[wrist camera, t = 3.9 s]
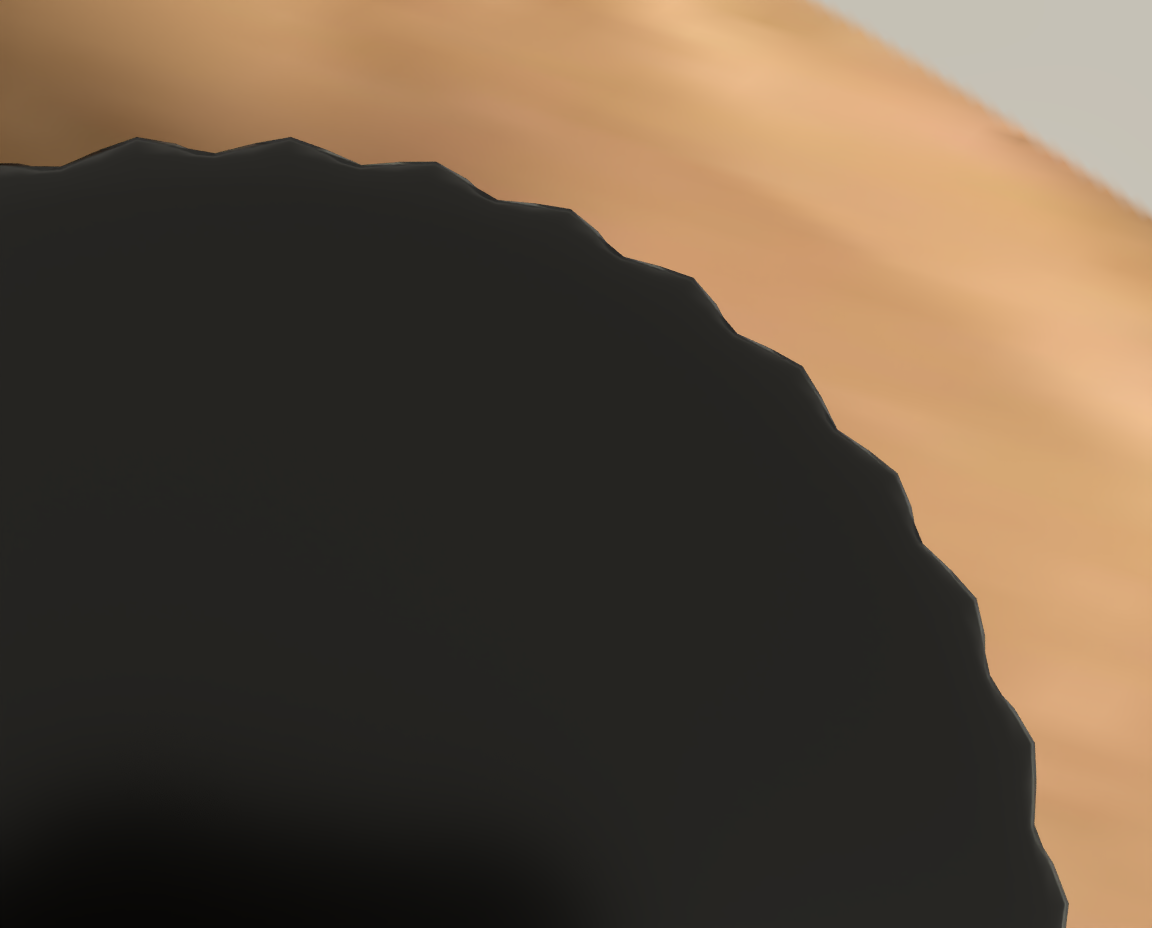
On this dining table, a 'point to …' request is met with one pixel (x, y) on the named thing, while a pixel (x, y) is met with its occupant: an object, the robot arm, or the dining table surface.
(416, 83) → the dining table surface
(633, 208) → the dining table surface
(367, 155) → the dining table surface
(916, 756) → the supplement bottle
